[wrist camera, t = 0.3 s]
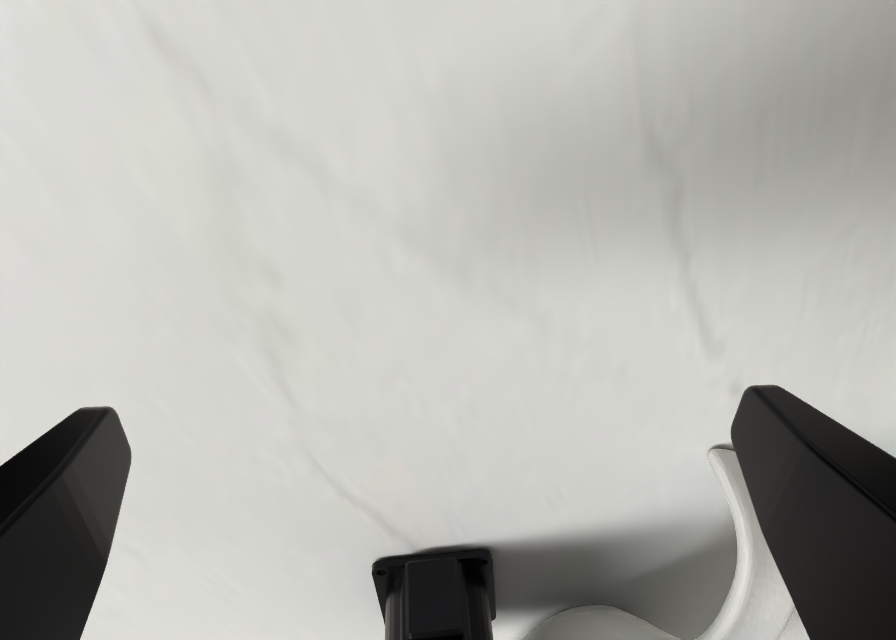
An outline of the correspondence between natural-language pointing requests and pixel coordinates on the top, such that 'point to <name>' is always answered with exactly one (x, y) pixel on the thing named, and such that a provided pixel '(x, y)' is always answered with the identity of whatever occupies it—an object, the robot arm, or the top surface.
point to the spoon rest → (746, 607)
